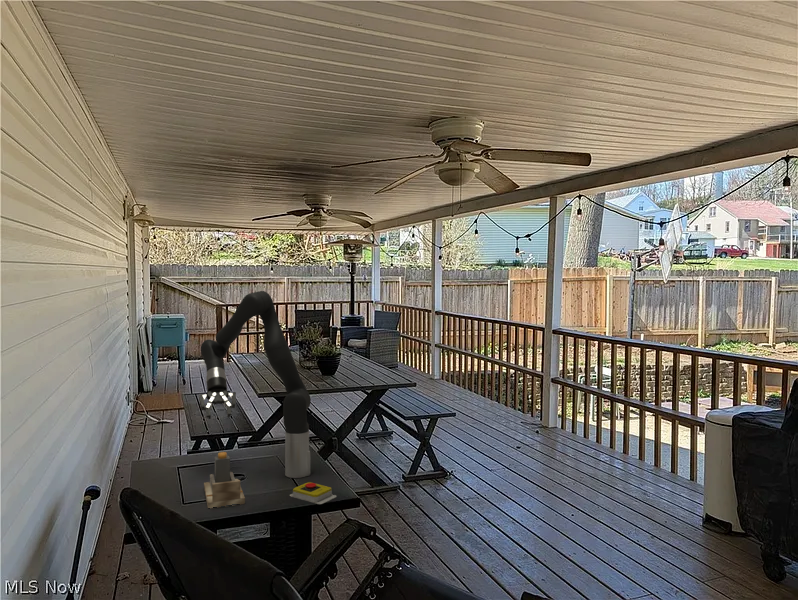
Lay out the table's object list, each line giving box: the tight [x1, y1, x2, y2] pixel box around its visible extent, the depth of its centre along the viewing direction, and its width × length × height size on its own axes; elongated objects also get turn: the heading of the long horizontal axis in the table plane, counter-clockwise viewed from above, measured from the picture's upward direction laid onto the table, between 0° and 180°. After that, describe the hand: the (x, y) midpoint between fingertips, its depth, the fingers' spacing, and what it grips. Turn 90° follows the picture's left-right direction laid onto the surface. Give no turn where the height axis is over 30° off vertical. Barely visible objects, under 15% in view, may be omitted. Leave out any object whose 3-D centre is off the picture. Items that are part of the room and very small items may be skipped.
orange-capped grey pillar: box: [214, 451, 231, 483], centre depth 207 cm, size 5×4×12 cm
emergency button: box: [289, 481, 337, 505], centre depth 202 cm, size 9×4×15 cm
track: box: [203, 471, 246, 509], centre depth 202 cm, size 12×21×8 cm, turn 22°
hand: (219, 417), depth 218 cm, fingers open, 6 cm apart
